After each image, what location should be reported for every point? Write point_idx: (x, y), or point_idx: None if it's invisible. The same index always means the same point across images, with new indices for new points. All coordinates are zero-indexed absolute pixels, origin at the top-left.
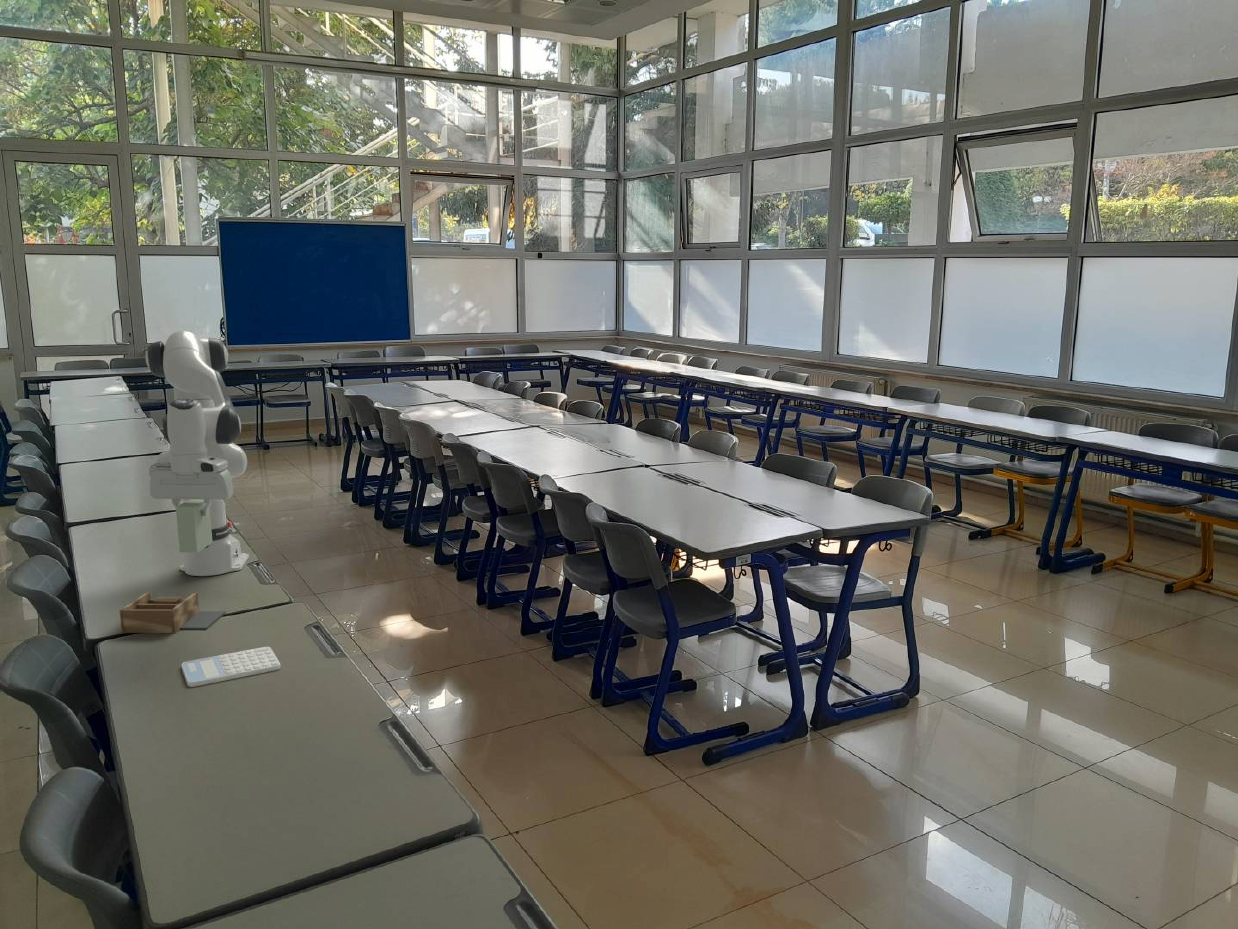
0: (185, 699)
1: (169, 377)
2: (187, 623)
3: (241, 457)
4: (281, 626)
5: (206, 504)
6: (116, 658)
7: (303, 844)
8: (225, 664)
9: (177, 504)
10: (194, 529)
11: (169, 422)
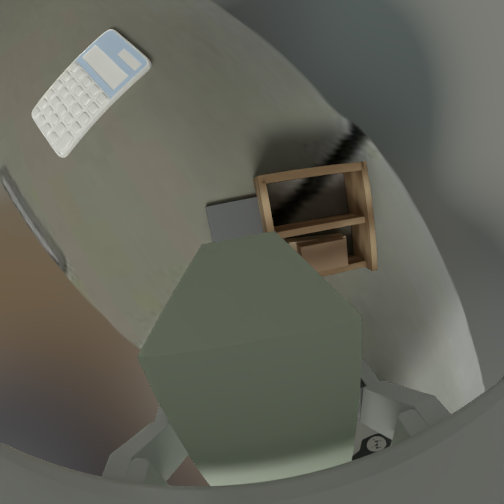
0: (104, 12)
1: None
2: (255, 219)
3: None
4: (94, 252)
5: (133, 450)
6: (277, 67)
7: None
8: (85, 78)
9: (395, 410)
10: (190, 273)
11: None
